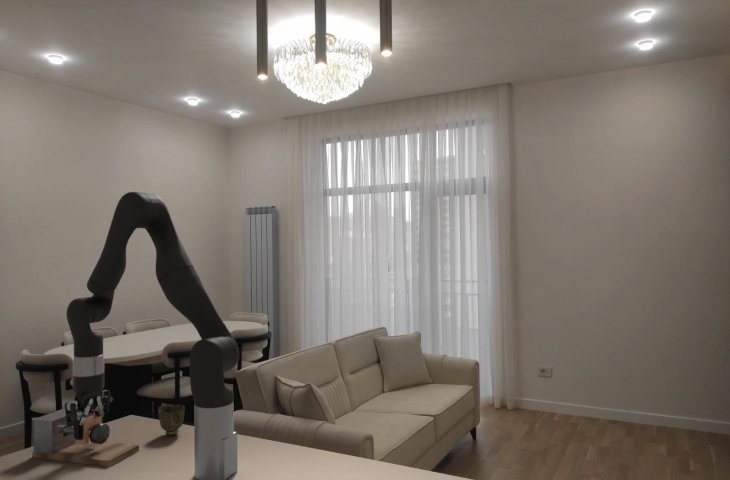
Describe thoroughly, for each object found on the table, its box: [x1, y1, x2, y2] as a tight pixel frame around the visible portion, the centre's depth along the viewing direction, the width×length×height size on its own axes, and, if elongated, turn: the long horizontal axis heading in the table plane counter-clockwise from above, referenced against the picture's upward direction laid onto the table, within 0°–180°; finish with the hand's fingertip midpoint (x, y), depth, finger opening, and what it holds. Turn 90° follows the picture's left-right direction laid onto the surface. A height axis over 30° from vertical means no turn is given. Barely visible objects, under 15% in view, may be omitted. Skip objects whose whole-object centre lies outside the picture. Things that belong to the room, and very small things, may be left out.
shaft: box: [63, 423, 111, 444], centre depth 144 cm, size 12×5×5 cm, turn 74°
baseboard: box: [31, 439, 140, 468], centre depth 144 cm, size 24×11×2 cm, turn 74°
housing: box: [33, 407, 83, 454], centre depth 146 cm, size 6×10×8 cm, turn 164°
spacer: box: [75, 415, 102, 445], centre depth 143 cm, size 3×6×6 cm, turn 164°
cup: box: [157, 403, 186, 437], centre depth 158 cm, size 8×7×8 cm
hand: (88, 434), depth 143 cm, fingers closed on spacer, 6 cm apart
